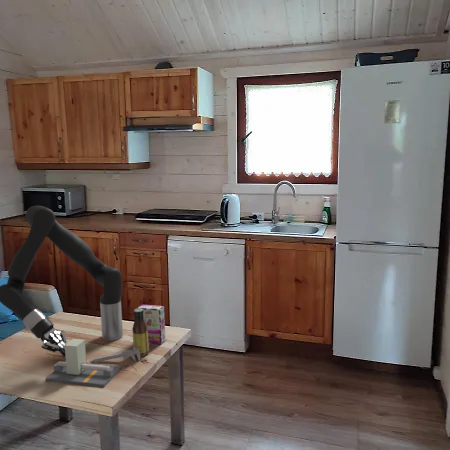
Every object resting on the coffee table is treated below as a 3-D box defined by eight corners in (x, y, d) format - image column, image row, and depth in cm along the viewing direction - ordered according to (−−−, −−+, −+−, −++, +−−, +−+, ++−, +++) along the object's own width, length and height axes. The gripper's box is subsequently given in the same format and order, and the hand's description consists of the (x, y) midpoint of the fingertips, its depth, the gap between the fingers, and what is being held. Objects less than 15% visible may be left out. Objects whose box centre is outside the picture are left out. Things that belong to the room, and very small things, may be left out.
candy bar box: (166, 340, 204) (164, 305, 201) (161, 344, 199) (160, 309, 197) (143, 337, 207) (142, 303, 204) (138, 342, 202) (137, 307, 200)
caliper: (140, 360, 186) (139, 345, 185) (140, 361, 185) (139, 347, 184) (90, 361, 185) (89, 347, 184) (89, 363, 184) (88, 348, 183)
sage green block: (75, 366, 177) (73, 338, 175) (86, 367, 176) (84, 339, 174) (66, 373, 172) (64, 345, 170) (78, 374, 171) (76, 346, 169)
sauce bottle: (141, 349, 195) (139, 305, 192) (152, 352, 192) (150, 308, 188) (130, 354, 190) (128, 310, 187) (140, 358, 186) (138, 313, 183)
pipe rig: (65, 363, 183) (65, 353, 182) (120, 368, 178) (120, 358, 177) (45, 380, 169) (44, 370, 169) (104, 387, 164) (103, 375, 164)
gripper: (32, 323, 167) (65, 357, 166) (53, 311, 179) (83, 342, 179) (21, 336, 169) (53, 369, 168) (42, 322, 181) (72, 353, 181)
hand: (68, 355), depth 174 cm, fingers closed
